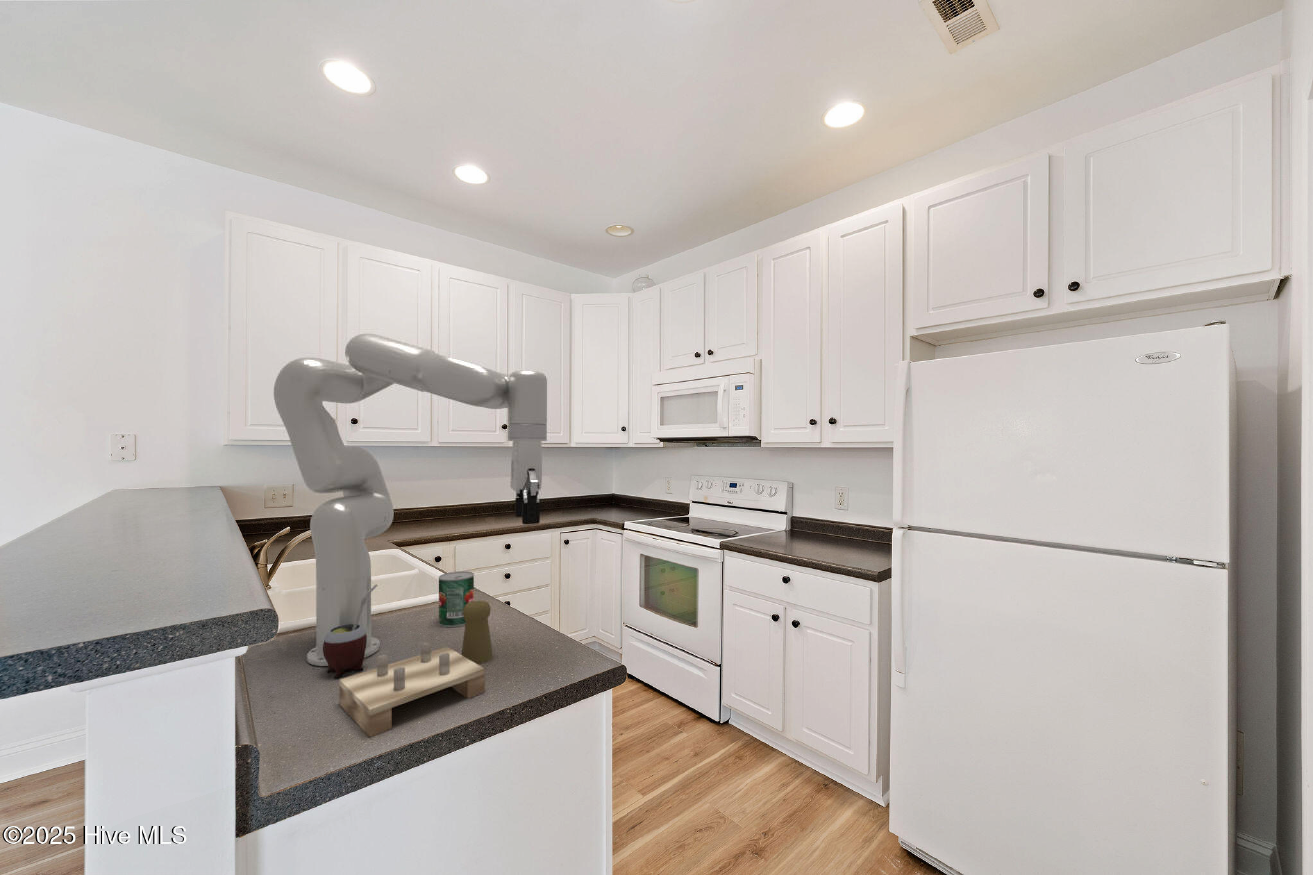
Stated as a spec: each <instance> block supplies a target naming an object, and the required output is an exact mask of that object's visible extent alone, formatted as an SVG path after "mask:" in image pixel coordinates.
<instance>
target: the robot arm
mask: <svg viewBox="0 0 1313 875" xmlns="http://www.w3.org/2000/svg"><path fill="white" fill-rule="evenodd" d="M344 355H345V359H346V361H347V363H348V364H346V363H341V362H337V361H334V360H329V359H324V358H319V357H299V358H296V359H294V360H292V361H289V362H288V363H286V364H285V365H284V366H283V367H282V368H281V370H280V371H279V373H278V375H277V377H276V379H275V380H274V386H273V399H274V404H275V407H276V411H277V413H278V414H279V418H280V419H281V421H282V422H283V423H282V424H283V425H284V428H285V430H286V432H287V434H288V435H287V436H288V438H289V440H290V445H291V448H292V450H293V453H294V456H295V459H296V462H297V466H298V469H299V470H300V474H301V477H302V479H303V482H304V484H305V486H306V487H307V488H308V489H309V490H310V491H312V492H314V493H317V494H332V493H341V492H342V495H343V496H339V497H336V498H335V497H334V498H332V499H329V500H327V501H325V502H323V503H322V504H320V505H319V506H318V507H317V508H316V509H315V510H314V512H312V513H313V514H312V515H311V518H310V523H309V531H310V536H311V540H312V543H313V548H314V555H315V556H314V557H315V580H316V582H315V584H316V586H315V587H316V589H315V592H316V593H315V595H316V596H315V598H316V599H315V600H316V606H315V609H316V611H315V612H316V613H315V615H316V620H315V621H316V625H315V626H316V630H315V631H316V633H315V634H316V637H315V638H316V641H315V643H316V646H315V647H313V648H312V649H310V650H309V651H308V652H307V654H306V661H307V663H308V664H311V665H313V666H317V667H329V666H328V663H327V661H326V660H325V657H324V655H323V644H324V639H325V637H326V635H327V633H328V632H329V631H330V630H331V629H332V628H335V627H337V626H341V625H346V624H354V623H355V620H356V617H357V614H358V611H359V608H360V605H361V604H360V603H361V600H362V598H364V596H365V595H366V593H367V592H368V591H369V590H370V589H371V588H372V564H371V563H372V562H371V556H370V553H369V550H368V547H367V544H366V543H365V540H366V539H369V538H373V537H376V536H378V535H381V534H382V533H384V532H385V531H387V530H388V528H390V527H391V525H392V523H393V520H394V515H395V514H394V505H393V502H392V499H391V496H390V492H389V491H388V488H387V484H386V481H385V478H384V476H383V473H382V470H381V467H380V465H379V463H378V461H377V459H376V458H375V456H374V455H373V454H372V453H371V452H370V451H368V450H366V449H364V448H362V447H358V446H346V445H345V444H344V441H343V439H342V437H341V434H340V431H339V428H338V425H337V423H336V421H335V419H334V418H333V416H332V415H331V414H330V412H328V410H327V409H326V408H325V406H324V404H323V402H328V403H338V404H348V405H349V404H355V403H358V402H362V401H363V400H365V399H367V398H370V397H371V396H373V395H375V394H377V393H380V392H381V391H383V390H385V389H386V388H388V387H391V386H392V385H395V384H396V385H399V386H403V387H405V388H409V389H412V390H416V391H419V392H421V393H424V392H425V393H428V394H432V395H435V396H438V397H441V398H445V399H448V400H451V401H456V402H457V403H462V404H465V405H468V406H473V407H480V408H486V409H490V410H502V409H507V441H508V442H512V445H511V446H512V448H511V460H510V461H511V464H510V482H509V483H510V486H509V487H510V488H511V489H512V490H513V491H514V492H515V498H514V499H515V501H514V502H515V503H514V504H515V505H514V506H515V508H514V509H515V511H514V513H515V517H516V518H521V521H522V522H521V524H523V525H538V524H540V521H541V519H540V518H541V515H540V514H541V513H540V512H541V507H540V506H541V502H540V492H539V491H541V490H542V484H543V483H542V482H543V450H542V449H543V448H542V442H547V441H548V440H547V437H548V425H547V424H548V379H547V378H548V377H547V376H546V375H545V373H543V372H540V371H535V370H515V371H513V372H511V373H510V374H508V373H502V372H498V371H495V370H492V369H490V368H487V367H484V366H479V365H477V364H473V363H470V362H467V361H463V360H459V359H456V358H453V357H449V356H445V355H441V354H439V353H437V352H435V351H434V350H431V349H427V348H424V347H421V346H417V345H414V344H410V343H406V342H402V341H399V340H397V339H393V338H389V337H387V336H383V335H379V334H374V333H361V334H358V335H355V336H354V337H352V338H350V339H349V341H348V342H347V344H346V346H345V352H344ZM358 624H359V625H360V626H362V627H363V628H364V630H365V631H366V635H367V643H366V650H365V656H364V659H366V658H368V657H370V656H371V655H374V654H375V653H377V651H378V650H379V649H380V646H381V642H380V639H378V638H377V637H373V636H372V592H371V593H370V594H369V595H368V597H367V598H366V602H365V604H364V606H363V609H362V612H361V615H360V618H359V621H358Z"/></svg>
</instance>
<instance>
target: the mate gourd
mask: <svg viewBox="0 0 1313 875" xmlns="http://www.w3.org/2000/svg"><path fill="white" fill-rule="evenodd" d="M377 587H378V584H374V585H373V587H371V589H370V590H369V591H368V592H367V593H366V595H365V596H364V598H362V600H361V603H360V604H361V605H360V608H359V611H358V614H357V617H356V620H355V623H354V624H346V625H341V626H337V627H335V628H332V629H331V630H330V631H329V632H328V633H327V635H326V637H325V639H324V644H323V655H324V657H325V660H326V661H327V663H328V666H327V667H328V669H327V670H326V671H327V674H335V673H336V674H335V675H334V680H339V679H341V677H343V676H344V675H346V673H357V672H358V673H362V672H364V667H363V664H364V661H365V658H364V656H365V650H366V643H367V635H366V631H365V630H364V628H363V627H362V626H360V625H359V624H358V621H359V618H360V615H361V612H362V609H363V606H364V604H365V602H366V598H367V597H368V595H369V594H370V593H371V594H372V592H373V591H374V590H375V589H376V588H377Z"/></svg>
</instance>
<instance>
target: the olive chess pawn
mask: <svg viewBox="0 0 1313 875" xmlns="http://www.w3.org/2000/svg"><path fill="white" fill-rule="evenodd" d="M491 610H492V609H491V605H490V604H489V602H487V601H485V600H475V601H473V602H469V603H468V604H466V605H465V607H464V608H463V617H464V619H465V620H466V623H465V625H464V632H463V639H462V647H461V653H460V655H462V656H464V657H466V658H467V659H469V660H471V661H472V662H474V663H476V664H478V665H480V664H483V663H486V662H489V661H490V660H492V658H494V657H493V656H494V653H493V647H492V640H491V639H492V638H491V634H490V632H491V631H490V626H489V616H490V614H491Z"/></svg>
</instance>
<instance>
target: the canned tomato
mask: <svg viewBox="0 0 1313 875" xmlns="http://www.w3.org/2000/svg"><path fill="white" fill-rule="evenodd" d="M474 577H475V573H474V572H472V571H468V570H467V571H465V570H464V571H452V572H446V573H443V574H441V575H439V576H438V625H439V627H442V626H443V628H456V627H458V626H459V627H464V626H465V623H466V620H465V619H464V617H463V608H464V607H465V605H466V604H468V603H469V602H473V601H474V600H475V594H474V593H475V583H474V582H475V578H474Z"/></svg>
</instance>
